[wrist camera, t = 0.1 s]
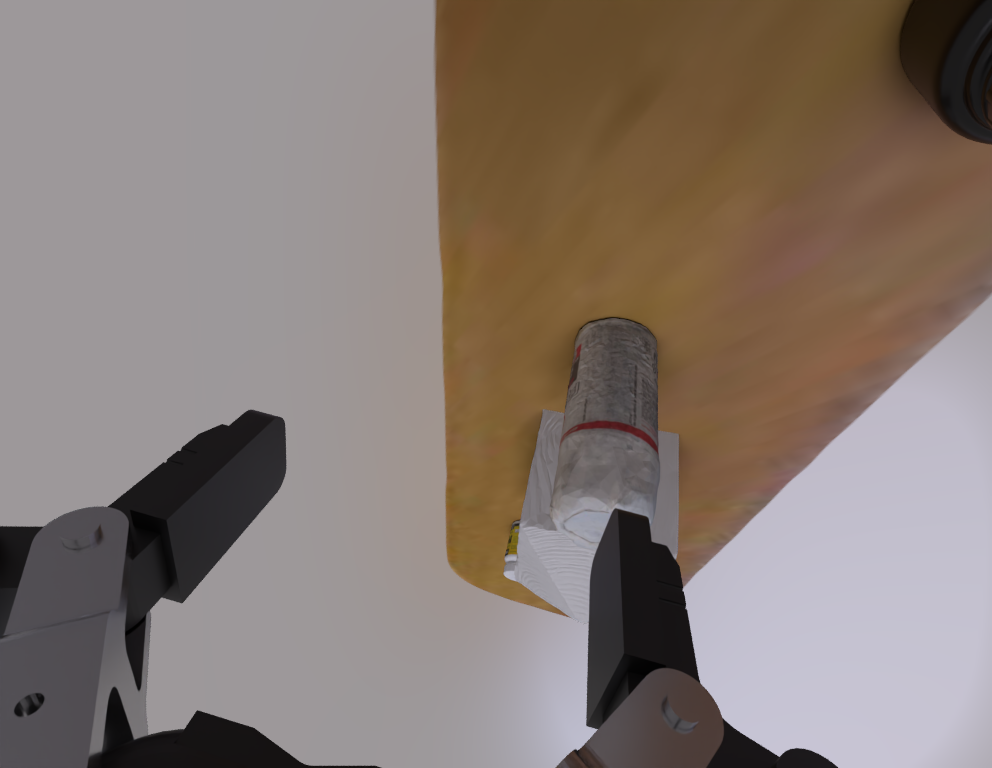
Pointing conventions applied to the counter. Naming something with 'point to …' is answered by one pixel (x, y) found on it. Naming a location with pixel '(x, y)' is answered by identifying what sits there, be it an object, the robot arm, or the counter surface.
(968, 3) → the ink bottle
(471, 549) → the counter surface
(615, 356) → the spray can
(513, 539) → the supplement bottle
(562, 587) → the decorative block
